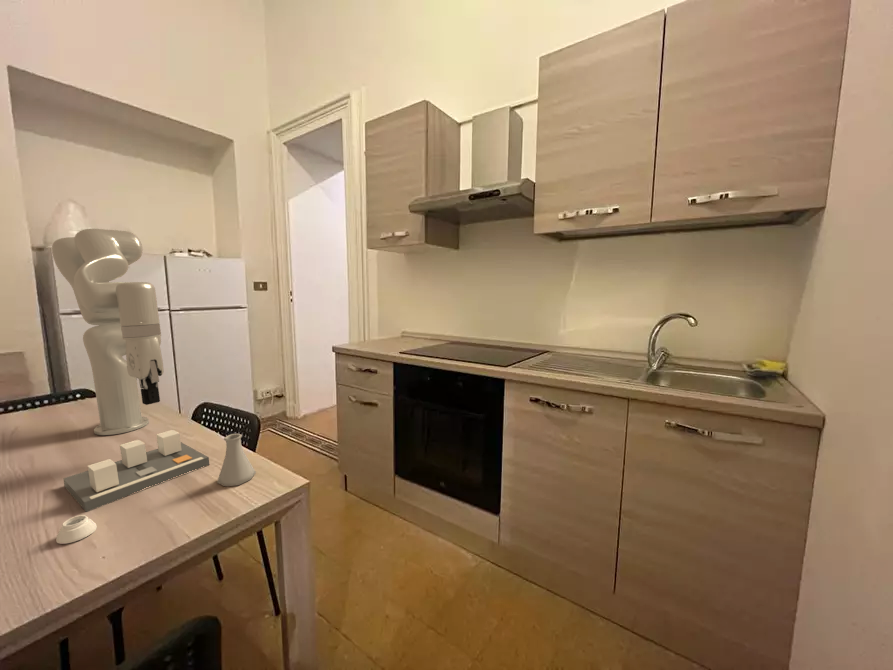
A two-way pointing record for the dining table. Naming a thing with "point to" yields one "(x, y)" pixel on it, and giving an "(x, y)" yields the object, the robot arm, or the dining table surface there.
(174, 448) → the cream cube
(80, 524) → the upside-down white bowl
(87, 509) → the switch panel
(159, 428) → the dining table surface
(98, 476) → the tab
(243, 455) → the flask
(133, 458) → the tab
